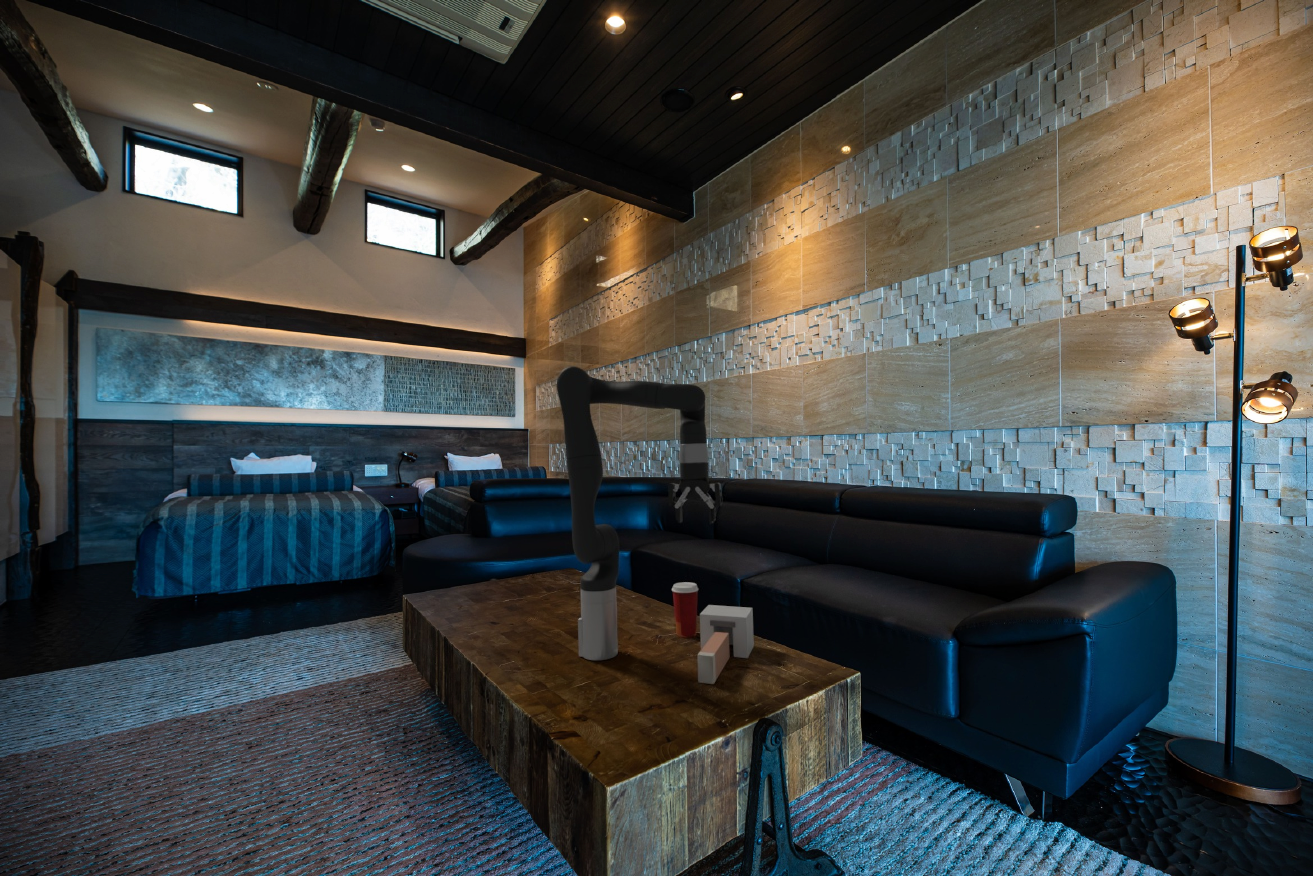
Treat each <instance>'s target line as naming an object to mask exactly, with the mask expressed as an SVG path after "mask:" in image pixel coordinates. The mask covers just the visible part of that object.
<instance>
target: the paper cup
mask: <svg viewBox="0 0 1313 876" xmlns="http://www.w3.org/2000/svg"><path fill="white" fill-rule="evenodd" d="M671 591H672V596H673V598H672V599H673V609H674V621H675V631H676V632H675V633H676V636H677V637H679V638H686V639H687V638H689V639H690V638H693V637H696V636H697V625H698V624H697V623H698V621H697V620H698V591H699V587H698V585H697V583H695V582H688V581H687V582H686V581H685V582H684V581H683V582H676V583H674V584H673V586H672V588H671Z"/></svg>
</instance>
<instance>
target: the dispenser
mask: <svg viewBox="0 0 1313 876" xmlns="http://www.w3.org/2000/svg"><path fill="white" fill-rule="evenodd" d="M753 612H754V611H753V607H746V606H745V607H742V606H732V605H731V606H727V605H714V604H708V605H707V606H706V607H705V608H704V609H703V610H702V611H701V612H700V613H699V630H700V631H699V635H700V638H699V639H700V651H701V650H702V648H703V647H704V646H705V644H706V643H707V642H708V640H709V639H710V638H711V637H712V635H713V634H714V633H715V632H723V633H729V646H733V657H734V658H743V659H749V656H750V654H751V652H752V650H753V649H754V647H755V643H754V641H755V639H754V616H753V615H754V614H753Z"/></svg>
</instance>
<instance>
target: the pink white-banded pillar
mask: <svg viewBox="0 0 1313 876" xmlns="http://www.w3.org/2000/svg"><path fill="white" fill-rule="evenodd" d="M696 657H697V680H698V681H697V683H702V684H708V685H709V684H710V685H714V684H715V682H716V681H717V679H718V677H719V676H720V674H721V673H722V671H723V669H724V668H725V666H726V664H727V662H728V661H729V659H730V645H729V633H723V632H715V633H714V634H713V635H712V637H711V638H710V639H709V640H708V642H707V643H706V644H705V646H704V647H703V648H702V650H701V649H700V651H699V652H698V653H697V656H696Z"/></svg>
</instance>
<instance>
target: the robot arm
mask: <svg viewBox="0 0 1313 876" xmlns="http://www.w3.org/2000/svg"><path fill="white" fill-rule="evenodd" d="M556 391H557V395H558V400H559V403H560V404H559V405H560V409H561V414H562V419H563V428H564V431H563V432H564V435H563V436H564V447H565V458H566V459H565V460H566V469H567V476H568V481H569V491H570V493H569V494H570V502H571V503H570V504H571V506H570V507H571V537H572V538H571V540H572V548H573V552H574V555H575V557H576V559H577V560H578V561H579V562H580V563H582V564H587V565H588V564H591V565H590V567H589V569H588V570H587V571H586V572H585V573H584V574H583V575H582V576H581V577H580V583H579V584H580V617H579V618H578V619H577V630H578V631H577V632H578V635H577V636H578V657H582V658H584V659H586V660H589V661H606V660H609V659H612V658H615V657H616V656H617V655H618V653H619V651H618V649H619V647H618V646H619V644H618V609H617V608H618V606H617V579H618V576H619V571H620V569H619V568H620V540H619V536H618V533H617V531H616V529H615V528H614V526H612V525H610V524H606V523H603V524H596V520H595V504H596V500H597V496H598V493H599V490H600V487H601V485H602V482H603V477H604V468H603V467H604V465H603V461H602V460H603V459H602V452H601V447H600V443H599V440H598V435H597V433H596V430H595V427H594V423H593V420H592V419H593V418H592V414H591V405H595V404H596V405H597V404H611V405H622V406H623V405H625V406H631V407H637V408H638V407H640V408H648V409H657V410H665V409H671V410H679V415H680V427H679V479H680V481H679V484H678V483H675V482H671V483H669V484H668V497H667V498H668V499H667V500H668V501H667V502H668V503H667V504H668V506H669V507H673V508H674V509H675V521H677V523H680V524H681V523H683V521H684V519H683V514H684V513H683V508H682V507H683V505H684V503H685V502H686V501H687V500H688V501H690V500H696V501H698V500H699V501H701V500H703V502H705V504H706V505H707V506H708V508H709V509H708V524H713V523H715V521H716V519H717V515H716V514H717V513H716V510H717V508H718V507H721V506H722V505H723V503H724V502H723V491H722V484H721V482H715V483H710V480H709V479H710V478H709V477H710V475H709V474H710V473H709V450H708V445H707V444H708V442H707V441H708V440H707V427H706V395H705V391H704V390H703V389H702V387H700V386H698V385H696V384H689V383H665V382H664V383H663V382H657V381H650V380H626V381H625V380H624V381H616V380H615V381H612V380H611V381H610V380H605V379H601V378H596V377H593V376H590V375H589V374H588V372H586V371H585V370H584V369H582V368H581V367H577V366H573V365H572V366H568V367H565V368H563V369H562V371H561V372H560V373H559V374H558V377H557V379H556ZM711 489H712V491H713V492H714V495H715V496H714V497H715V501H714V500H713V498H712V497H711V495H710V494H709V493H708V492H710V490H711ZM678 490H680V491H681V493H682V494H681V495H680V497H679V498H678V500H677V501H676V496H677V495H676V492H678Z"/></svg>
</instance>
